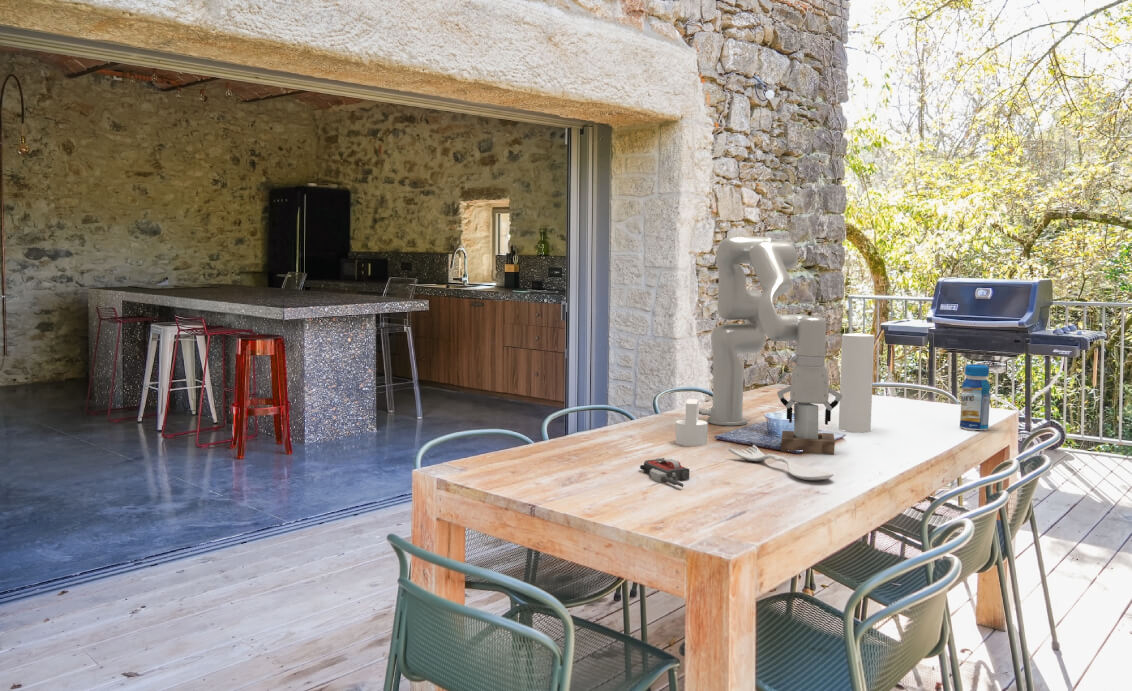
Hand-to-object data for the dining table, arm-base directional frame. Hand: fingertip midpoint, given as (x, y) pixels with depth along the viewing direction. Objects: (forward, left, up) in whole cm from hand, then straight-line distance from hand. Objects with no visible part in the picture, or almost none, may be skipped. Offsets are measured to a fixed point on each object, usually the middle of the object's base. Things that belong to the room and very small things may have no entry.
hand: (808, 422), depth 245 cm
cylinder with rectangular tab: (-32, -2, -7) cm, 33 cm away
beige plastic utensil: (-6, -28, -8) cm, 29 cm away
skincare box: (-1, 0, -7) cm, 7 cm away
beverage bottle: (+50, +46, -7) cm, 68 cm away
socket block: (0, 0, -7) cm, 7 cm away
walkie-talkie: (-32, -45, -8) cm, 56 cm away
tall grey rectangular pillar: (+14, +33, -7) cm, 37 cm away
